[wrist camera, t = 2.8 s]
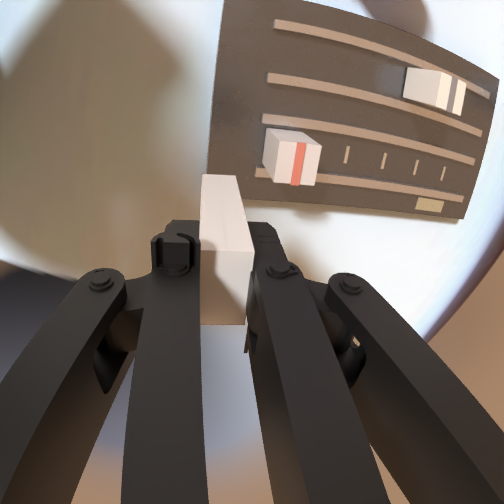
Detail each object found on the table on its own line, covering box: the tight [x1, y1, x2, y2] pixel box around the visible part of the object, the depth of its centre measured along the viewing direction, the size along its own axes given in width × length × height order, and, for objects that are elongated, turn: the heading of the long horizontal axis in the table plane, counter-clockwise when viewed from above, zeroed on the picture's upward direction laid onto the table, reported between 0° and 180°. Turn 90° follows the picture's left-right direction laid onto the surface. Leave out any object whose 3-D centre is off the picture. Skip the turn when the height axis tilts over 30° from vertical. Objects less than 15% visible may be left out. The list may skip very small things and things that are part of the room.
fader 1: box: [262, 128, 322, 186], centre depth 24 cm, size 3×3×5 cm
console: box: [206, 0, 499, 219], centre depth 26 cm, size 30×18×3 cm, turn 83°
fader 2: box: [403, 67, 466, 116], centre depth 21 cm, size 3×3×5 cm
